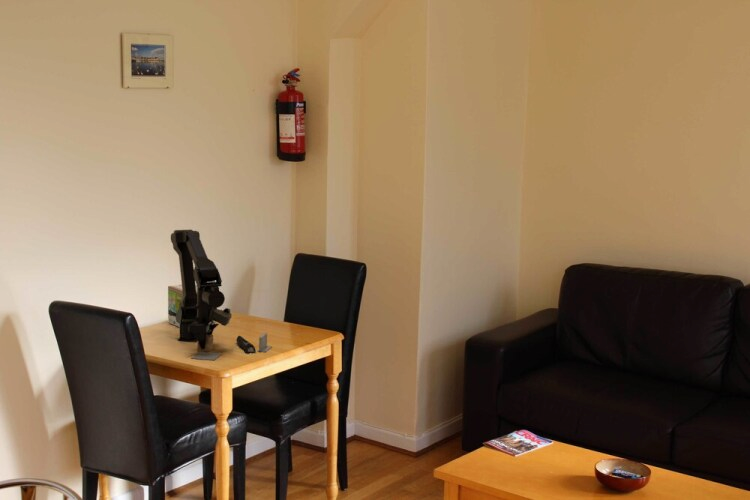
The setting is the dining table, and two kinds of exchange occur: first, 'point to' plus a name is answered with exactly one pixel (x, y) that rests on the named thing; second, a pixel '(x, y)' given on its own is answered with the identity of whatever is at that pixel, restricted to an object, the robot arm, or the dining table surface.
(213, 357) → the pad
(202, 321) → the robot arm
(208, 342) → the walnut block
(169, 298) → the tea box
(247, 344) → the electric trimmer
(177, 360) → the dining table surface
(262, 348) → the gray angled bracket
